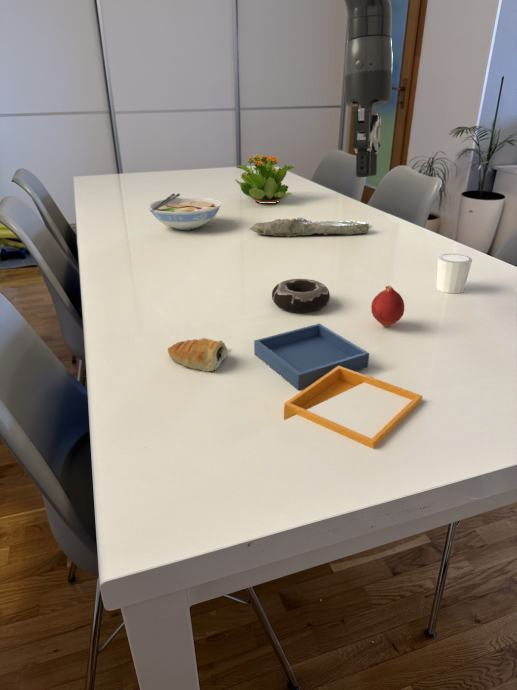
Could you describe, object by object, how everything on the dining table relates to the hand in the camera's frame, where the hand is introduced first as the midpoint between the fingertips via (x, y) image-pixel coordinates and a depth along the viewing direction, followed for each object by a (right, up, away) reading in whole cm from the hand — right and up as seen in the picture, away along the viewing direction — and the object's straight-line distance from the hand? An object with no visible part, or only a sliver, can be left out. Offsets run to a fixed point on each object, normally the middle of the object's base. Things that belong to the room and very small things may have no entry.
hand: (366, 176), depth 89 cm
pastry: (-28, -32, -6) cm, 43 cm away
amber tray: (-6, -39, -20) cm, 44 cm away
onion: (+5, -26, +6) cm, 27 cm away
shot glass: (+23, -17, +22) cm, 36 cm away
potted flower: (-15, +25, +108) cm, 112 cm away
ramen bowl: (-42, +8, +74) cm, 86 cm away
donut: (-10, -21, +16) cm, 28 cm away
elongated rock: (-3, +4, +66) cm, 66 cm away
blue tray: (-11, -32, -6) cm, 34 cm away
